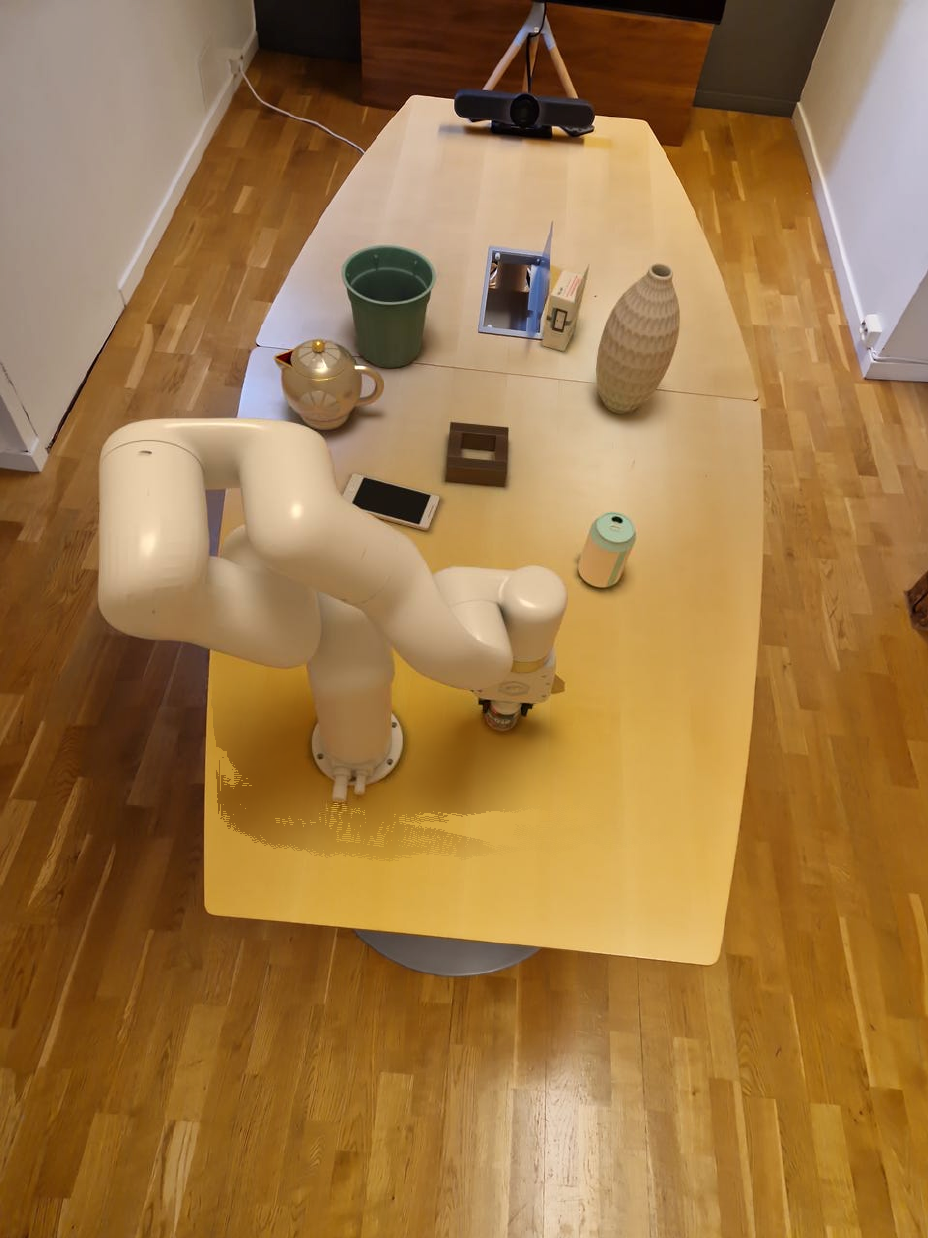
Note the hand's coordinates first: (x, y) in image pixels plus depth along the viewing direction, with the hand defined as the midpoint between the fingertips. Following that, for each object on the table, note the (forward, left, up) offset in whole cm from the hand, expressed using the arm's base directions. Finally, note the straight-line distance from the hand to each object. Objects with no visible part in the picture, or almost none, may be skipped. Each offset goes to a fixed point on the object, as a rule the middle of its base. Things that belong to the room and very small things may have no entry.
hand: (504, 705), depth 114 cm
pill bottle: (0, 0, -4) cm, 4 cm away
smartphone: (+37, +20, -4) cm, 42 cm away
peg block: (+48, +6, -4) cm, 49 cm away
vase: (+66, -20, -4) cm, 69 cm away
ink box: (+83, -9, -4) cm, 83 cm away
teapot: (+56, +32, -4) cm, 65 cm away
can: (+27, -15, -4) cm, 31 cm away
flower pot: (+75, +24, -4) cm, 79 cm away
